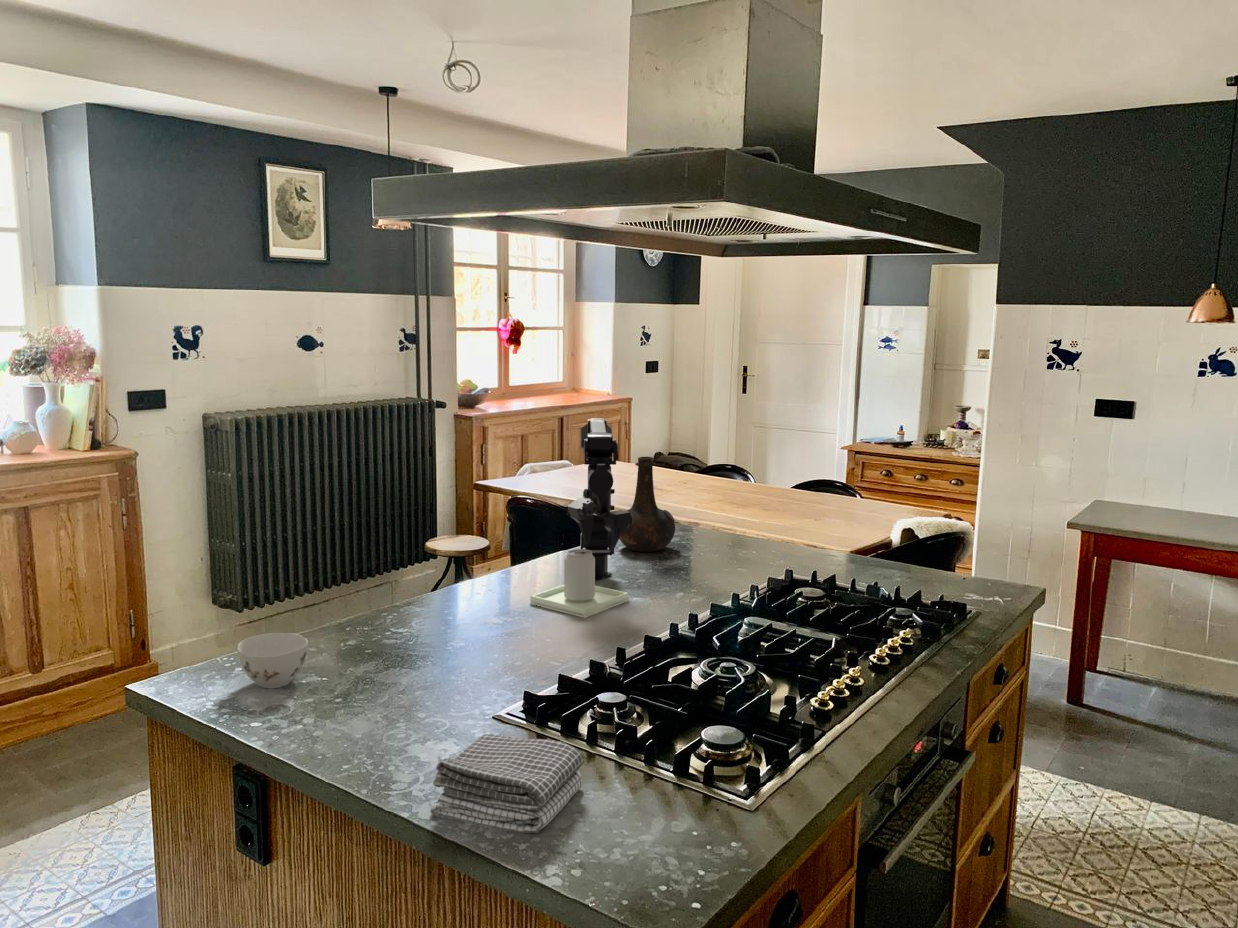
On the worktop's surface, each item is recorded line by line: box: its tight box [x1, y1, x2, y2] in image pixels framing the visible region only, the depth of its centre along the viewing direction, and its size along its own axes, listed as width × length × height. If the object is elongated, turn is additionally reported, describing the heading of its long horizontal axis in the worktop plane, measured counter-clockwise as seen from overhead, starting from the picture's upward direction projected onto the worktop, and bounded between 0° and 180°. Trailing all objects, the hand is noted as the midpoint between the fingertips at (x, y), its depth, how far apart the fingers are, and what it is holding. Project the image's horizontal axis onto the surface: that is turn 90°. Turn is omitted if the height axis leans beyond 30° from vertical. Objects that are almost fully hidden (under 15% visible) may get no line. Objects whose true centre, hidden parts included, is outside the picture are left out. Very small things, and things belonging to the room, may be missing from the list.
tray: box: [529, 584, 629, 619], centre depth 228 cm, size 17×17×2 cm
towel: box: [430, 733, 586, 834], centre depth 134 cm, size 15×18×8 cm
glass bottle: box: [619, 456, 676, 553], centre depth 280 cm, size 18×18×28 cm
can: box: [563, 548, 596, 603], centre depth 227 cm, size 8×8×12 cm
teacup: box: [237, 632, 309, 689], centre depth 177 cm, size 15×12×8 cm
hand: (598, 547), depth 231 cm, fingers open, 9 cm apart
